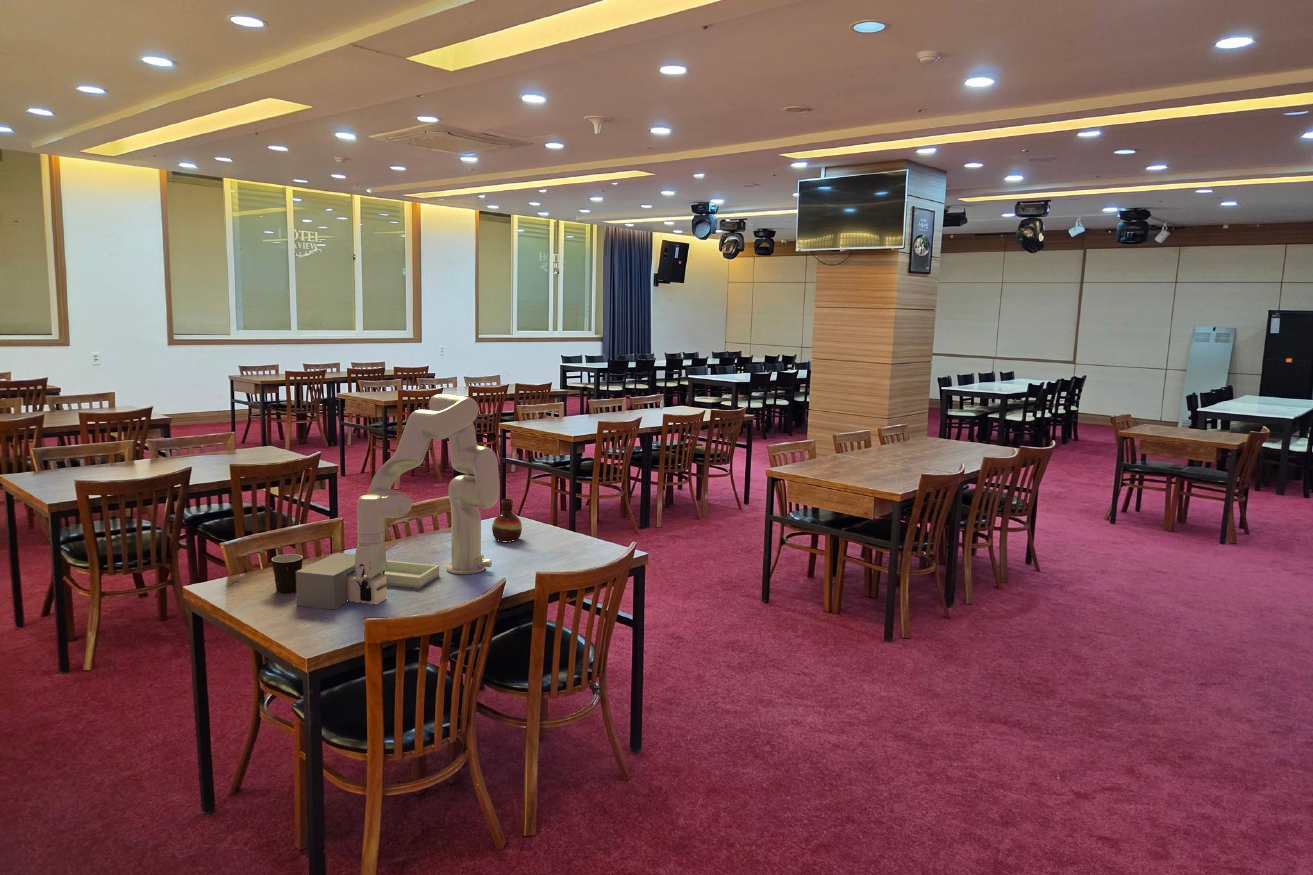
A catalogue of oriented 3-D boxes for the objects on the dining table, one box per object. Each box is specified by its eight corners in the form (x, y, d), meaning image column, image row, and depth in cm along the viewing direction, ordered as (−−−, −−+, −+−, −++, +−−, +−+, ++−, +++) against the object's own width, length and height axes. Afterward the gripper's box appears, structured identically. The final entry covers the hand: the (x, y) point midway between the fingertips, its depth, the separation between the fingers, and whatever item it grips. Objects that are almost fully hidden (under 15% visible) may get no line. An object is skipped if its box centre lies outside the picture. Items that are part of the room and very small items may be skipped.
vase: (496, 535, 319) (497, 496, 317) (525, 536, 318) (525, 497, 316) (488, 542, 308) (488, 502, 306) (517, 544, 307) (517, 504, 305)
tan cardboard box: (388, 599, 245) (388, 576, 244) (377, 605, 240) (377, 581, 239) (345, 593, 249) (345, 570, 248) (334, 598, 244) (333, 575, 243)
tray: (439, 576, 268) (439, 565, 267) (419, 588, 255) (419, 577, 255) (377, 569, 272) (377, 559, 272) (355, 581, 260) (355, 570, 259)
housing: (372, 587, 255) (371, 556, 253) (334, 609, 235) (333, 575, 234) (337, 583, 257) (336, 552, 256) (296, 605, 238) (295, 571, 236)
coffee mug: (281, 584, 254) (280, 553, 253) (308, 586, 254) (307, 554, 253) (262, 597, 243) (260, 564, 241) (291, 598, 243) (290, 566, 241)
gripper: (375, 529, 250) (375, 586, 253) (342, 543, 233) (343, 605, 236) (398, 531, 249) (398, 589, 251) (366, 546, 232) (367, 608, 234)
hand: (371, 596), depth 243 cm, fingers closed on tan cardboard box, 5 cm apart
